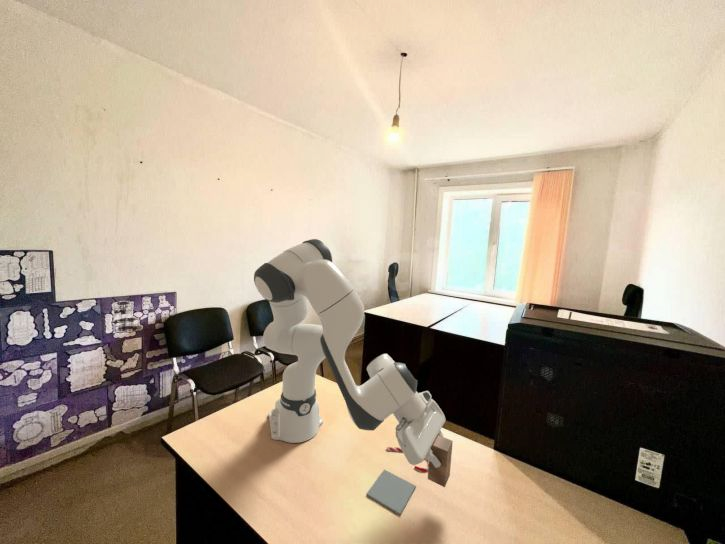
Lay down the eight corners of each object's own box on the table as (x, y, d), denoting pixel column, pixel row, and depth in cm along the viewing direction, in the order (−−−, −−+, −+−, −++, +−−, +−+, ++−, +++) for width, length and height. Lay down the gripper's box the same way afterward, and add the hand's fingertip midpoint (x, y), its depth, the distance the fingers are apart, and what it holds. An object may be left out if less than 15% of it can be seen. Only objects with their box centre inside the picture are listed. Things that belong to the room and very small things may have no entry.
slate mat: (366, 495, 77) (366, 493, 77) (384, 470, 86) (384, 469, 86) (400, 515, 72) (400, 513, 72) (415, 487, 80) (415, 485, 80)
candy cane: (389, 440, 98) (434, 454, 92) (389, 444, 98) (434, 458, 92) (382, 456, 90) (430, 472, 85) (381, 460, 91) (429, 476, 85)
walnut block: (427, 478, 75) (430, 444, 74) (433, 467, 79) (435, 434, 77) (444, 487, 73) (447, 451, 71) (449, 475, 76) (452, 440, 75)
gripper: (401, 425, 68) (439, 482, 64) (430, 388, 86) (461, 431, 82) (384, 435, 71) (419, 490, 67) (415, 397, 88) (444, 439, 85)
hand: (442, 457), depth 75 cm, fingers closed on walnut block, 4 cm apart
